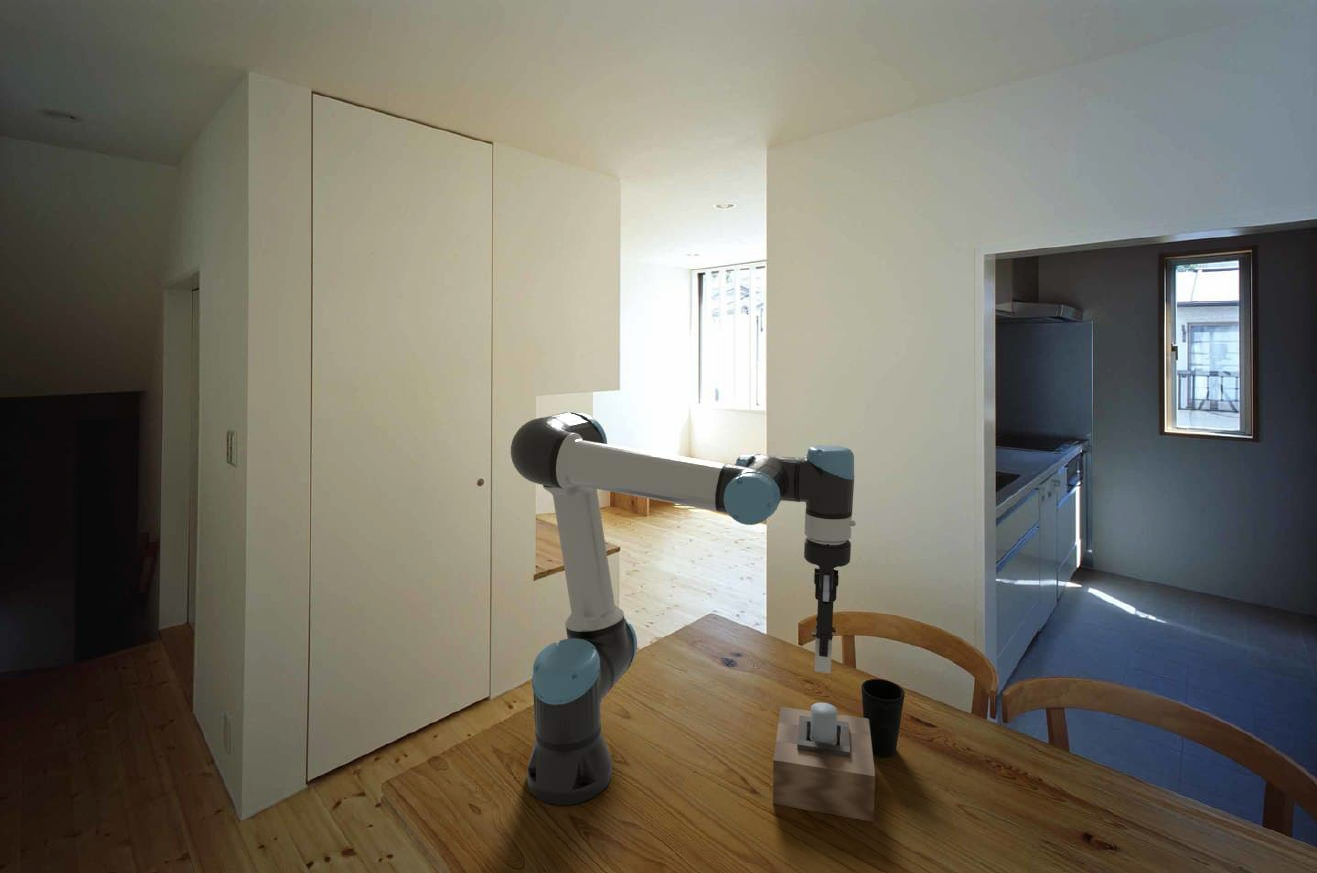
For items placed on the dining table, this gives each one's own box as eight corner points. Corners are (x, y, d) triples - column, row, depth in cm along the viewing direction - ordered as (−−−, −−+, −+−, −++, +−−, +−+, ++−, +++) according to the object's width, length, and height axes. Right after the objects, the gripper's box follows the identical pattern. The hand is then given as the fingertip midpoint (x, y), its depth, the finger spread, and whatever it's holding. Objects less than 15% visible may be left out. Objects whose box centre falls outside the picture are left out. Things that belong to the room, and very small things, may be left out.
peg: (809, 779, 106) (810, 715, 104) (810, 762, 110) (811, 700, 109) (836, 783, 105) (837, 719, 103) (836, 766, 109) (837, 704, 107)
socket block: (773, 804, 102) (773, 754, 101) (780, 745, 117) (780, 701, 116) (873, 822, 98) (875, 770, 97) (867, 758, 113) (868, 713, 112)
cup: (906, 763, 112) (909, 702, 110) (862, 759, 113) (865, 699, 111) (896, 737, 119) (899, 680, 118) (856, 733, 121) (858, 677, 119)
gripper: (852, 552, 95) (846, 693, 98) (849, 529, 107) (844, 655, 110) (803, 548, 97) (798, 687, 100) (806, 526, 109) (801, 650, 112)
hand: (822, 670), depth 105 cm, fingers closed
